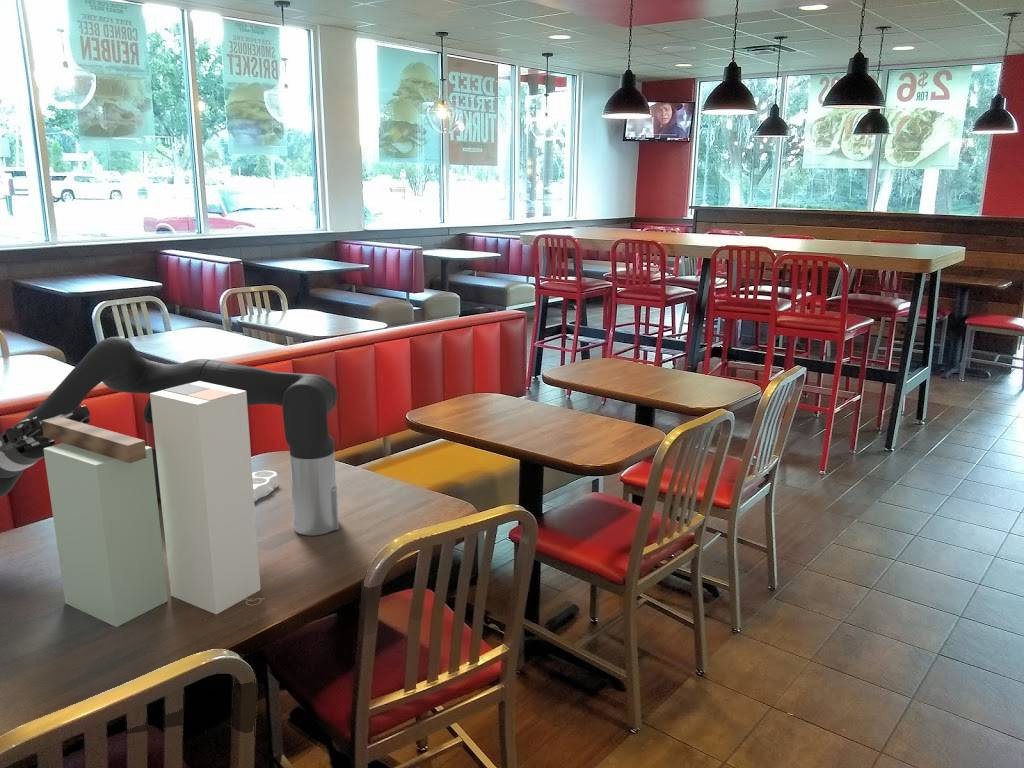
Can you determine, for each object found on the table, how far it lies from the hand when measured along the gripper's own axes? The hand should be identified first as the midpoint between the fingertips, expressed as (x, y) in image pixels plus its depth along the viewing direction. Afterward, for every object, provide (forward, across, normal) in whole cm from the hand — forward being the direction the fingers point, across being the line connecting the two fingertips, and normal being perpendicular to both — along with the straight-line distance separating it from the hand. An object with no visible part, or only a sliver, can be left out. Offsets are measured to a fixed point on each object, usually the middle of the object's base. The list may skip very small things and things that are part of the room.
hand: (62, 416), depth 137 cm
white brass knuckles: (-26, +46, +24) cm, 58 cm away
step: (-8, 0, +33) cm, 34 cm away
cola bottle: (-37, +36, +17) cm, 54 cm away
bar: (+5, 0, +8) cm, 9 cm away
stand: (+2, +12, +39) cm, 41 cm away
